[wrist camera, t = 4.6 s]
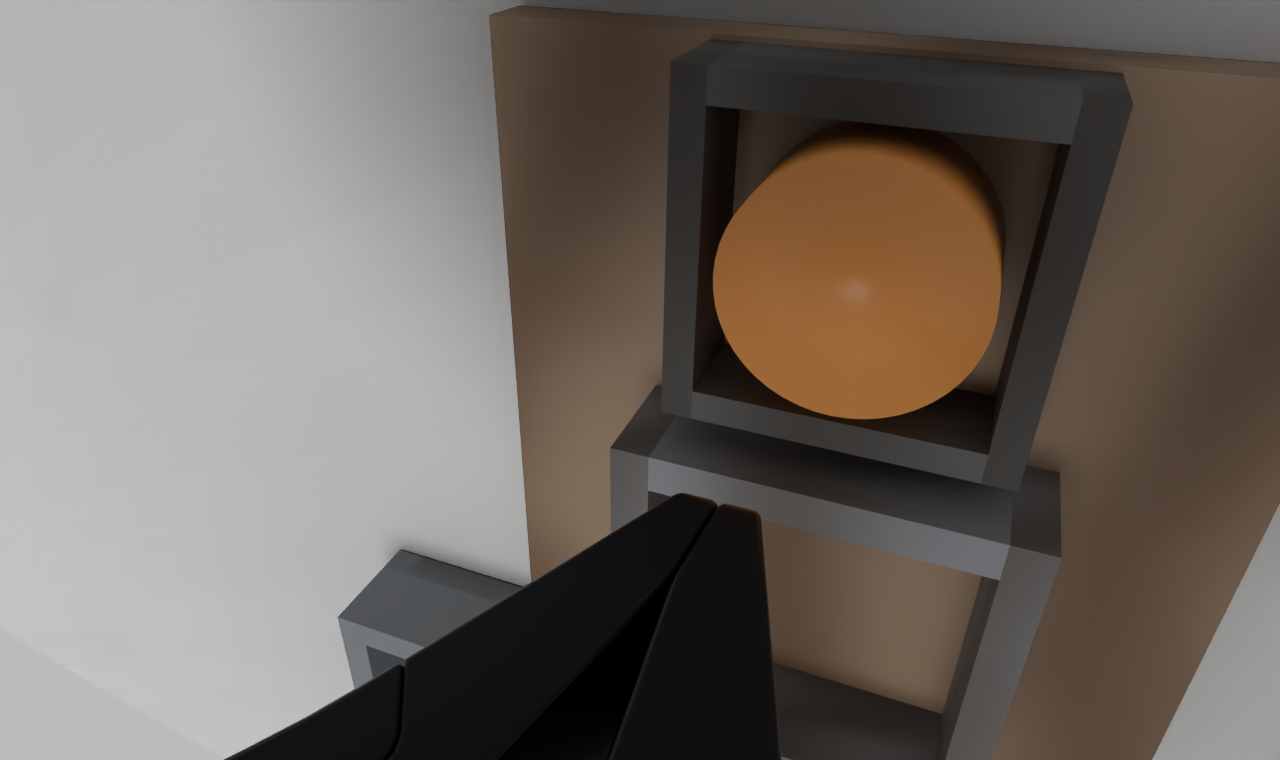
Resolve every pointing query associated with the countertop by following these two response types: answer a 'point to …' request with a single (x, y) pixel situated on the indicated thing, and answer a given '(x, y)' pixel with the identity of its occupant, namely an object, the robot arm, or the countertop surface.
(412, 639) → the tote
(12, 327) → the countertop surface
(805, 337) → the button
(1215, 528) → the brown wood panel
